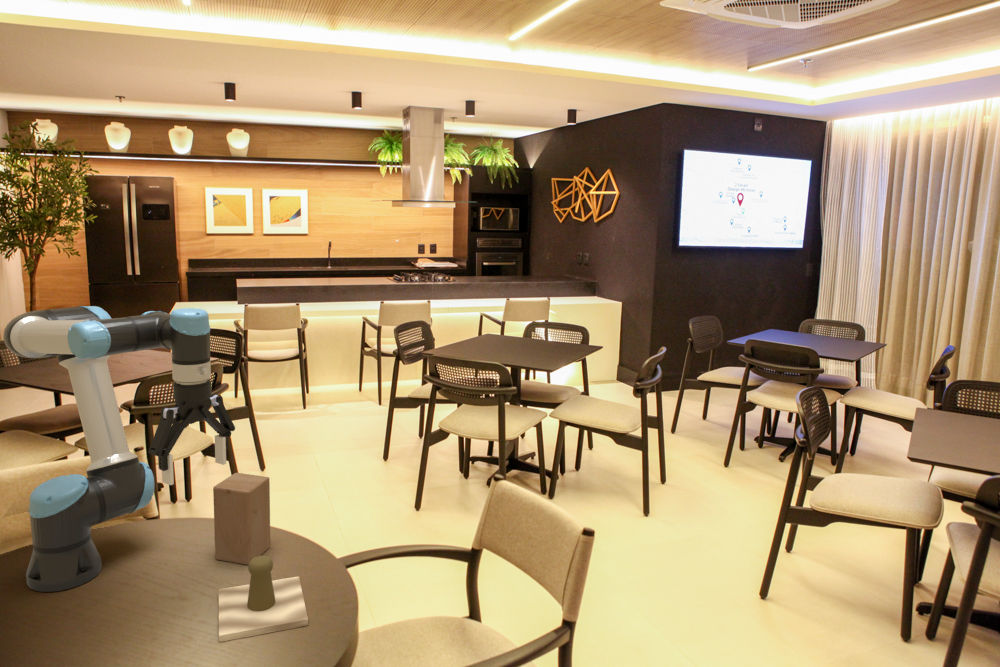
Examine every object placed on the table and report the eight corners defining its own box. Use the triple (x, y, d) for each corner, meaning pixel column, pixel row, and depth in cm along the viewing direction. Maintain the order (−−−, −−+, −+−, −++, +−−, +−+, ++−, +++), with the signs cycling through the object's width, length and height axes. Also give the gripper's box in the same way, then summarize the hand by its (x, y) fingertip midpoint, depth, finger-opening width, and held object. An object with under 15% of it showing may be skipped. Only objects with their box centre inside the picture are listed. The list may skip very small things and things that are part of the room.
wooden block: (250, 566, 168) (248, 491, 164) (214, 560, 169) (212, 486, 166) (271, 546, 177) (270, 476, 173) (237, 541, 179) (235, 471, 175)
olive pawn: (258, 614, 146) (257, 569, 144) (241, 604, 149) (240, 560, 147) (281, 602, 151) (280, 557, 149) (263, 592, 154) (263, 549, 152)
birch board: (218, 595, 155) (218, 589, 154) (298, 581, 162) (298, 576, 161) (219, 642, 139) (218, 635, 138) (308, 625, 146) (308, 619, 145)
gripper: (150, 396, 131) (155, 496, 135) (250, 371, 153) (251, 459, 157) (126, 390, 134) (131, 488, 138) (227, 366, 156) (229, 452, 160)
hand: (195, 472), depth 147 cm, fingers open, 13 cm apart
